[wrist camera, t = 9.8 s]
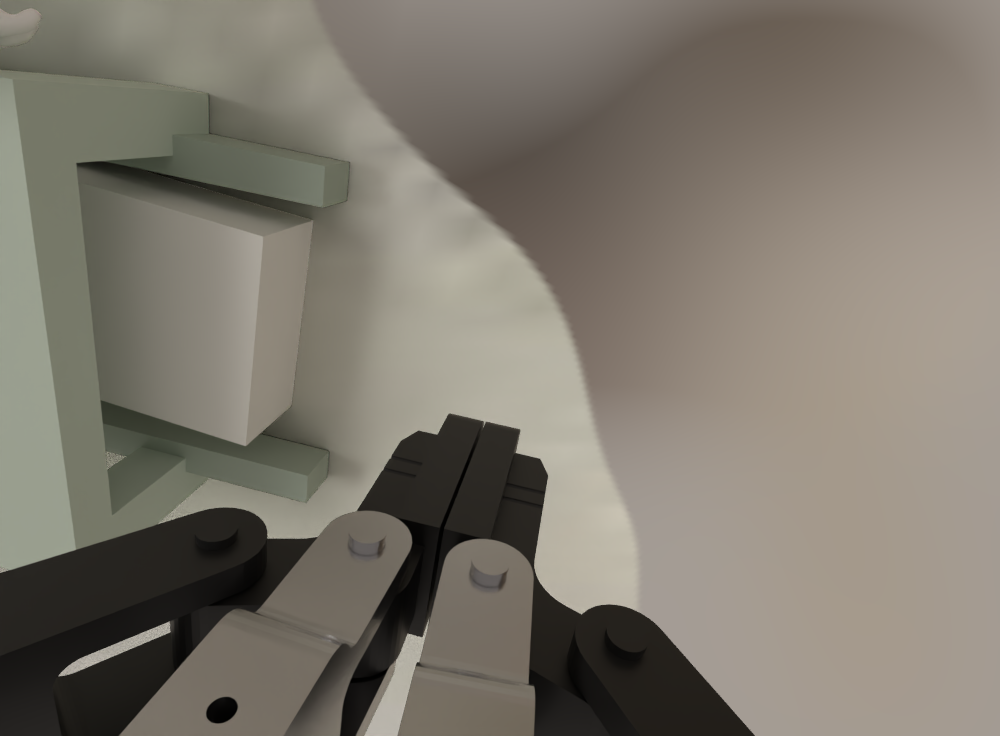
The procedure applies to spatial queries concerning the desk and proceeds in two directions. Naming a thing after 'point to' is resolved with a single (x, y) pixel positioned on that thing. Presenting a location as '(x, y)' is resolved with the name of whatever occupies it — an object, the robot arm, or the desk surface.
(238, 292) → the cover plate
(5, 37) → the hat wearing toy figure
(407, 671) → the desk surface
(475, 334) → the desk surface
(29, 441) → the shelf
